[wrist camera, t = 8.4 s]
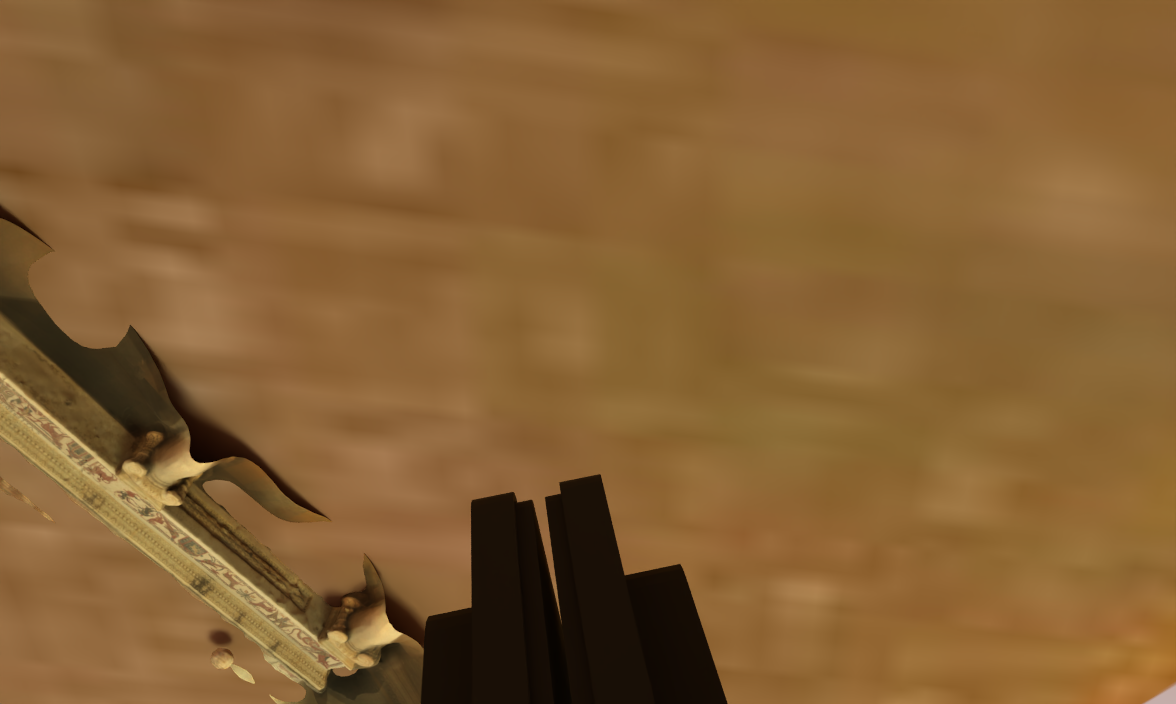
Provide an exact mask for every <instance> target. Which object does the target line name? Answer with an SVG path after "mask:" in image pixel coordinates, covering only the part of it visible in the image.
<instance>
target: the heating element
mask: <svg viewBox="0 0 1176 704" xmlns="http://www.w3.org/2000/svg"><path fill="white" fill-rule="evenodd" d="M50 252H54V250H53V249H51V248H50V247H49V246H47V245H46V244H44V243H43V242H41V241H40V240H39V239H37V238H36V237H34V236H33V235H31V234H30V233H28V232H26V231H25V230H23V229H22V228H20V227H18V226H16V225H15V224H13V223H11V222H9V221H7V220H4V219H2V218H0V439H1V440H3V441H4V442H6V443H7V444H9V445H11V446H13V447H14V448H15V449H16V450H18V452H19V453H21V454H22V455H23V457H24V458H25V459H26V461H27V462H28V463H30V464H32V465H34V466H35V467H36V468H37V469H39V470H40V471H41V472H42V473H44V474H45V475H46V476H47V477H49V478H51V479H52V480H53V481H54V482H55V483H56V484H57V485H58V486H59V487H60V488H62V490H63V491H64V492H65V494H66V495H67V496H68V497H69V498H70V499H71V500H72V501H73V502H74V503H76V504H77V505H79V506H80V507H82V508H83V509H85V510H86V511H87V512H88V513H89V514H91V515H92V516H93V517H94V518H96V519H97V520H99V521H100V522H102V523H103V524H104V525H106V526H107V527H108V529H109V530H110V531H111V532H112V533H113V534H115V535H116V536H118V537H120V538H121V539H123V540H125V541H126V542H128V543H129V544H130V545H132V546H133V547H134V548H135V549H137V550H138V551H140V552H141V553H142V554H143V555H145V556H146V557H147V558H149V559H150V560H151V561H153V562H154V563H155V564H156V565H157V566H159V567H160V568H163V569H164V570H165V571H167V572H169V573H170V574H171V575H172V576H173V577H174V578H175V579H176V581H177V582H178V583H179V584H180V585H181V586H182V587H183V588H184V589H185V590H186V591H187V592H188V593H189V594H190V595H191V596H193V597H194V598H195V599H197V600H199V601H201V602H202V603H204V604H205V605H206V606H208V607H211V608H212V609H213V610H215V611H216V612H217V613H218V614H219V615H220V617H221V618H222V619H223V620H224V621H226V622H228V623H230V624H232V625H234V626H236V627H237V628H238V629H240V630H241V631H242V632H243V633H244V636H245V637H246V638H248V639H249V640H250V641H252V642H255V643H256V644H257V645H258V646H259V647H260V649H261V651H262V652H263V653H264V657H265V658H264V659H265V660H266V661H267V662H268V663H270V664H271V665H272V666H273V668H274V669H276V670H277V671H279V672H281V673H283V674H284V675H286V676H287V677H288V678H290V679H291V680H293V681H295V682H296V683H298V684H300V685H301V686H303V687H304V688H305V690H306V696H305V698H304V699H303V700H301V701H299V702H284V701H281V700H278V699H276V698H274V697H272V696H270V697H271V698H272V699H273V700H274V701H275V702H276V703H277V704H420V703H421V689H422V672H423V655H424V649H423V648H422V647H421V645H420V644H419V643H418V642H417V641H415V640H414V639H412V638H410V637H409V636H407V635H405V634H403V633H400V632H398V631H396V630H394V628H393V627H392V625H391V624H390V623H389V621H388V618H387V615H386V613H385V609H386V605H385V594H384V590H383V585H382V582H381V580H380V578H379V576H378V574H377V572H376V571H375V569H374V567H373V565H372V564H371V562H370V561H369V559H368V558H367V556H366V555H365V553H364V562H363V568H364V575H365V577H366V584H367V586H366V589H365V590H363V591H362V592H353V593H349V594H347V595H345V596H344V597H343V598H342V601H341V602H342V607H332V606H330V605H328V604H327V603H326V602H325V601H324V600H323V598H322V597H321V596H319V595H318V594H316V593H315V592H313V590H312V589H311V588H310V587H309V586H307V585H306V584H304V583H303V581H302V580H299V578H298V576H296V575H295V574H294V573H293V572H292V571H291V570H290V569H289V568H288V567H287V566H285V565H284V564H283V563H282V562H281V561H280V560H279V559H278V558H277V557H276V556H274V555H273V554H272V553H271V551H270V549H269V548H268V547H266V546H264V545H263V544H261V543H260V542H259V541H258V540H257V539H256V538H255V537H254V536H253V535H252V534H251V533H250V532H249V531H248V530H247V529H246V528H245V527H243V526H242V525H240V524H239V523H238V522H237V521H236V520H235V519H234V518H233V517H232V516H231V515H230V514H229V513H228V512H227V511H226V509H225V508H224V507H223V506H221V505H219V504H217V503H216V502H215V501H214V500H213V499H212V498H211V497H210V496H209V495H208V494H207V493H206V492H205V490H204V489H203V486H202V485H203V483H204V482H206V481H211V480H225V481H230V482H232V483H234V484H235V485H237V486H238V487H240V488H241V489H242V490H243V491H245V492H246V493H247V494H248V495H249V496H251V497H252V498H253V499H254V500H255V501H256V502H258V503H259V504H260V505H261V506H262V507H263V508H265V509H266V510H267V511H269V512H270V513H271V514H273V515H275V516H277V517H278V518H280V519H282V520H285V521H289V522H298V523H300V522H318V521H327V522H332V521H330V520H329V519H327V518H326V517H323V516H321V515H318V514H315V513H313V512H311V511H309V510H307V509H305V508H303V507H301V506H298V505H297V504H295V503H294V502H293V501H291V500H290V499H289V498H288V497H286V496H285V495H284V494H283V493H282V492H281V491H280V489H279V488H278V487H277V486H276V485H275V483H274V482H273V481H272V480H271V479H270V478H269V477H268V476H267V474H266V473H265V472H264V471H263V470H262V469H261V468H260V467H259V466H257V465H256V464H254V463H253V462H251V461H249V460H248V459H246V458H241V457H230V458H224V459H221V460H219V461H215V462H210V463H198V462H196V461H194V460H193V459H192V458H191V456H190V452H189V449H190V433H189V429H188V427H187V425H186V423H185V421H184V420H183V418H182V417H181V416H180V414H179V413H178V412H177V411H176V409H175V408H174V407H173V405H172V404H171V402H170V400H169V397H168V394H167V390H166V387H165V384H164V382H163V380H162V377H161V375H160V372H159V370H158V368H157V366H156V364H155V362H154V361H153V359H152V357H151V355H150V353H149V351H148V350H147V348H146V346H145V345H144V343H143V342H142V340H141V339H140V337H139V336H138V334H137V333H136V332H135V330H134V329H133V328H132V326H131V325H130V327H129V330H128V332H127V334H126V336H125V337H124V338H123V339H122V340H121V342H120V343H119V344H118V345H117V346H116V347H111V348H102V349H91V348H87V347H83V346H81V345H79V344H78V343H76V342H74V341H73V340H72V339H70V338H69V337H68V336H67V335H66V334H65V333H64V332H63V331H62V330H61V329H60V328H59V327H58V326H57V325H56V324H55V323H54V322H53V320H52V319H51V318H50V317H49V315H48V314H47V313H46V311H45V310H44V308H43V307H42V306H41V304H40V303H39V302H38V300H37V299H36V297H35V296H34V294H33V291H32V289H31V287H30V285H29V282H28V271H29V268H30V266H31V264H32V263H34V262H36V261H37V260H39V259H40V258H42V257H43V256H45V255H46V254H48V253H50ZM0 491H4V492H5V493H6V494H7V495H12V496H14V497H15V498H17V499H19V500H22V501H24V502H25V503H27V504H28V505H30V506H31V507H33V508H34V509H36V510H37V511H39V512H40V513H41V514H42V515H43V516H44V517H46V518H47V519H49V520H50V521H52V522H54V521H53V520H52V518H51V517H49V516H48V515H47V514H46V513H44V512H43V511H41V510H40V509H39V508H38V507H36V506H35V505H34V504H33V503H32V502H31V501H30V500H29V499H28V498H26V497H25V496H24V495H23V494H21V493H20V492H19V491H18V490H16V489H15V488H13V487H12V486H11V485H10V484H8V483H7V482H5V481H4V480H3V479H2V478H1V477H0ZM54 523H55V522H54ZM233 660H234V659H233V654H232V653H231V652H230V650H228V649H223V648H219V649H217V650H216V651H214V652H213V653H212V656H211V663H212V664H213V665H214V667H216V668H218V669H227V668H228V667H231V668H232V669H233V671H234V672H235V673H236V674H237V675H238V676H239V677H240V678H242V679H244V680H245V681H248V682H250V683H254V684H255V682H254V680H253V678H252V675H251V674H250V673H249V672H248V671H247V670H244V669H242V668H241V667H239V666H236V665H234V664H232V663H233ZM341 667H347V668H348V669H349V670H355V669H358V670H357V672H356V673H355V674H352V675H350V676H345V677H340V676H337V675H335V674H334V673H333V671H332V668H341Z"/></svg>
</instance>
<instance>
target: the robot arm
mask: <svg viewBox="0 0 1176 704" xmlns="http://www.w3.org/2000/svg"><path fill="white" fill-rule="evenodd" d="M559 483H560V490H561V494H557V495H552V496H548V497H545V501H546V509H547V516H548V524H549V531H550V539H551V546H552V554H553V561H554V569H555V576H556V584H557V591H558V599H559V606H560V614H561V619H560V615H559V611H558V606H557V602H556V598H555V594H554V589H553V585H552V581H551V576H550V572H549V568H548V564H547V559H546V555H545V551H544V546H543V542H542V538H541V534H540V529H539V525H538V521H537V516H536V512H535V508H534V504H533V501H532V500H528V501H523V502H518V503H517V500H516V496H515V493H514V492H510V493H505V494H500V495H496V496H491V497H486V498H481V499H476V500H472V502H471V573H472V607H471V608H467V609H462V610H457V611H452V612H448V613H443V614H438V615H433V616H429V617H428V619H427V621H426V627H425V638H424V655H423V672H422V689H421V704H727V701H726V698H725V694H724V691H723V688H722V685H721V682H720V679H719V676H718V673H717V670H716V667H715V664H714V661H713V658H712V655H711V652H710V649H709V646H708V643H707V640H706V637H705V634H704V631H703V628H702V625H701V622H700V619H699V616H698V613H697V609H696V606H695V603H694V600H693V597H692V594H691V591H690V588H689V585H688V582H687V579H686V576H685V574H684V571H683V568H682V566H681V565H680V564H678V565H673V566H668V567H663V568H659V569H654V570H649V571H644V572H639V573H635V574H630V575H624V571H623V567H622V563H621V558H620V554H619V550H618V546H617V542H616V537H615V533H614V529H613V525H612V521H611V516H610V512H609V508H608V504H607V500H606V495H605V491H604V487H603V483H602V479H601V475H600V474H599V475H594V476H589V477H584V478H579V479H574V480H569V481H564V482H559ZM561 621H562V624H561Z"/></svg>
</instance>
